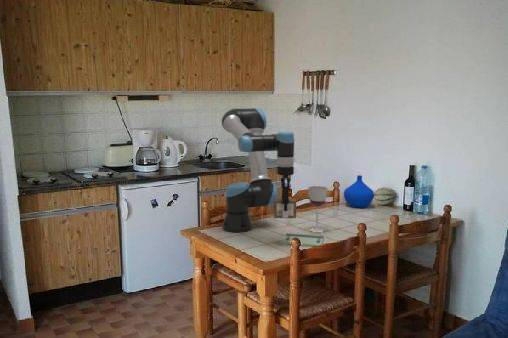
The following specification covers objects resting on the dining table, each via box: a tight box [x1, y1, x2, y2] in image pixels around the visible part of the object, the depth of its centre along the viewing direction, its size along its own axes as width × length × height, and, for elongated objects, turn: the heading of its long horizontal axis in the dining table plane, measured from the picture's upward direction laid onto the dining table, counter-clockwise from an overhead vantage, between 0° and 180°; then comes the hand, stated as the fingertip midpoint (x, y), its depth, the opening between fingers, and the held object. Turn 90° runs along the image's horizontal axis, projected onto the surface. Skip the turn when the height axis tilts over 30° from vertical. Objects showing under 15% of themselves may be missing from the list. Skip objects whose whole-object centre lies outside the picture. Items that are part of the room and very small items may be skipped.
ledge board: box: [281, 232, 325, 247], centre depth 215 cm, size 18×12×2 cm, turn 76°
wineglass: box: [307, 185, 328, 233], centre depth 232 cm, size 9×10×22 cm
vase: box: [343, 174, 375, 209], centre depth 283 cm, size 18×18×19 cm
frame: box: [273, 198, 297, 219], centre depth 210 cm, size 10×4×8 cm, turn 89°
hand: (285, 216), depth 211 cm, fingers closed on frame, 4 cm apart
